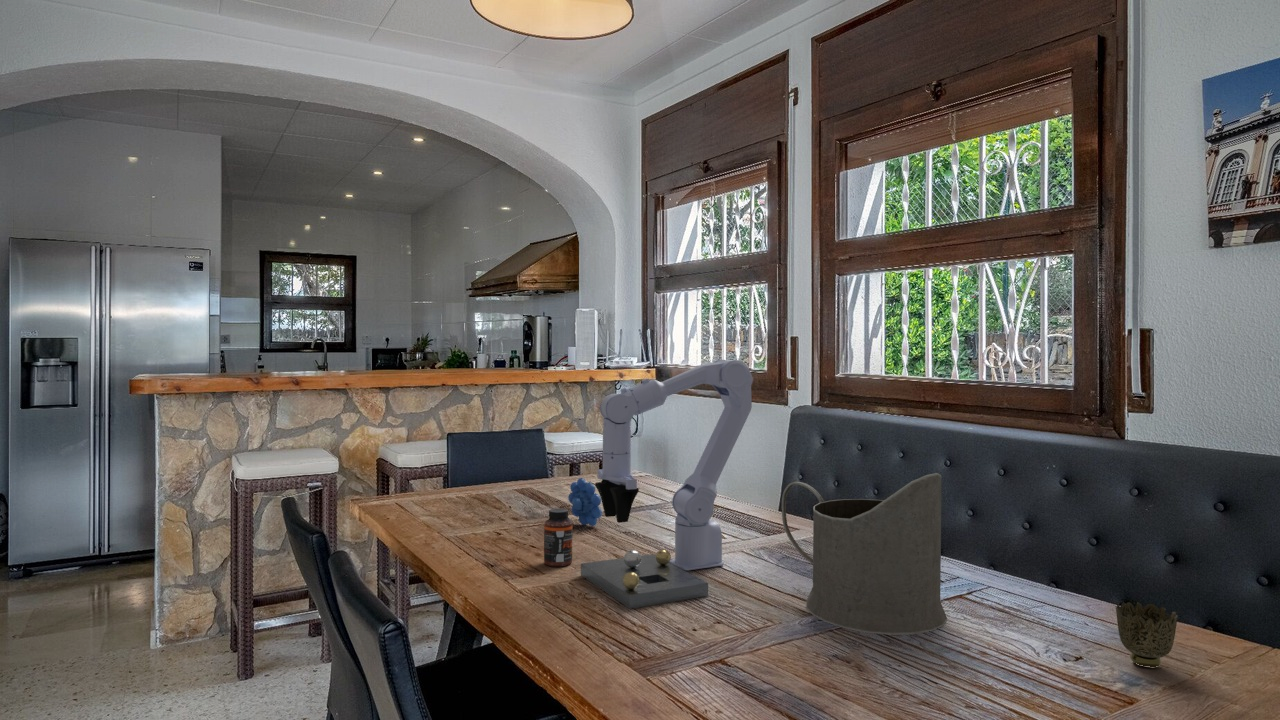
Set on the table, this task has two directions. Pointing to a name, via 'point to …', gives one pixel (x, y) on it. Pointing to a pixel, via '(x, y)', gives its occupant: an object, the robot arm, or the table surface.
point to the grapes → (585, 502)
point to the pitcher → (877, 560)
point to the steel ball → (632, 558)
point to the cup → (1146, 632)
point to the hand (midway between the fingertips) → (616, 519)
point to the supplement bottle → (558, 538)
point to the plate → (644, 582)
